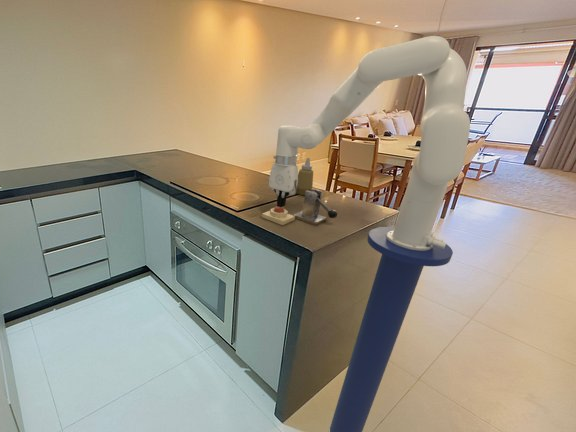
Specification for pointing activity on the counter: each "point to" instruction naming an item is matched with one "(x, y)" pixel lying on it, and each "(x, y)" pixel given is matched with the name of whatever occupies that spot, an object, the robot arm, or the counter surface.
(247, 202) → the counter surface
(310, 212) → the bracket
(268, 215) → the control block
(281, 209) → the button
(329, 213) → the lever
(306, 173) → the squeeze bottle
